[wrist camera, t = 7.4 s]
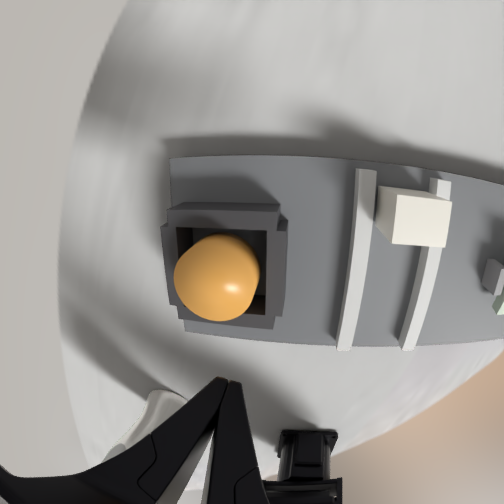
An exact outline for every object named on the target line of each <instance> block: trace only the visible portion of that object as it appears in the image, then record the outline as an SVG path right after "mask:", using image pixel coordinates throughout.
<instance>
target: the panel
mask: <svg viewBox="0 0 504 504" xmlns="http://www.w3.org/2000/svg"><path fill="white" fill-rule="evenodd" d="M170 184H171V202H172V208H169V209H167V221H168V223H166V224H164V225H162V226H161V237H162V247H163V256H164V265H165V273H166V281H167V288H168V295H169V302H170V305H175V306H177V311H178V317H179V319H183V320H184V327H185V331H187V332H193V333H200V334H207V335H215V336H222V337H230V338H239V339H248V340H257V341H268V342H280V343H293V344H308V345H328V346H336V350H337V351H350V350H351V346H370V347H384V346H400V347H401V350H402V351H412V350H414V348H415V346H424V345H442V344H456V343H468V342H478V341H487V340H496V339H503V338H504V314H503V315H496V313H495V311H494V309H493V308H492V305H493V303H494V301H495V299H496V297H497V295H501V292H502V289H503V286H504V185H501V184H497V183H493V182H489V181H485V180H481V179H476V178H472V177H467V176H462V175H458V174H452V173H447V172H442V171H436V170H430V169H424V168H418V167H412V166H405V165H397V164H390V163H381V162H372V161H363V160H352V159H340V158H326V157H308V156H280V155H226V156H198V157H180V158H170ZM378 186H385V187H394V188H403V189H411V190H419V191H426V192H428V193H431V194H434V195H436V196H439V197H441V198H444V199H446V200H449V201H451V202H452V208H451V215H450V222H449V229H448V235H447V240H446V246H445V248H442V247H430V246H417V245H403V244H391V242H390V241H389V240H388V239H387V238H386V237H385V236H384V235H383V234H382V232H381V231H380V230H379V229H378V228H377V227H376V226H375V220H376V210H377V198H378ZM216 232H227V233H231V234H234V235H237V236H239V237H241V238H243V239H244V240H245V241H247V242H248V243H249V244H250V245H251V246H252V247H253V249H254V250H255V252H256V253H257V255H258V258H259V261H260V265H261V275H260V279H259V282H258V285H257V288H256V291H255V293H254V296H253V299H252V301H251V304H250V305H249V307H248V308H247V310H246V311H245V312H244V313H243V314H241V315H240V316H238V317H236V318H234V319H231V320H227V321H213V320H208V319H205V318H202V317H200V316H198V315H196V314H195V313H193V312H192V311H191V310H189V309H188V308H187V307H186V306H185V305H184V303H183V302H182V301H181V299H180V298H179V296H178V294H177V292H176V289H175V285H174V270H175V267H176V264H177V262H178V260H179V259H180V257H181V256H182V255H183V254H184V253H185V252H187V251H188V250H189V249H190V248H191V247H192V246H193V245H194V244H196V243H197V242H198V241H199V240H200V239H201V238H203V237H204V236H206V235H209V234H212V233H216Z"/></svg>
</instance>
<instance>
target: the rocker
mask: <svg viewBox="0 0 504 504" xmlns="http://www.w3.org/2000/svg"><path fill="white" fill-rule="evenodd" d="M492 308H493V309H494V311H495V313H496V315H503V314H504V286H503V289H502V292H501V295H497V297H496V299H495V301H494V303H493V305H492Z"/></svg>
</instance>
